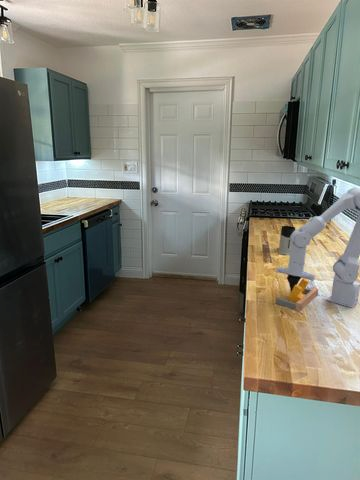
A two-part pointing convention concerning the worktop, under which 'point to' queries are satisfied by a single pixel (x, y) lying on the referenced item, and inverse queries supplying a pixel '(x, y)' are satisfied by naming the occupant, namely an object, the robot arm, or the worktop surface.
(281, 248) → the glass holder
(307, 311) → the worktop surface
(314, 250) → the worktop surface
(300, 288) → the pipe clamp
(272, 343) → the worktop surface
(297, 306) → the stop frame
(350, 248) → the robot arm
